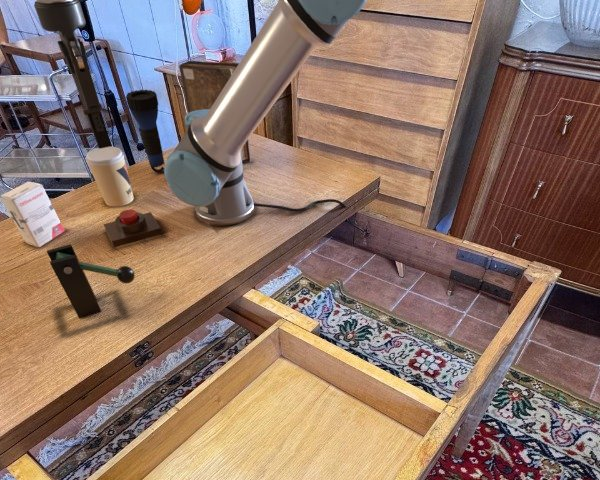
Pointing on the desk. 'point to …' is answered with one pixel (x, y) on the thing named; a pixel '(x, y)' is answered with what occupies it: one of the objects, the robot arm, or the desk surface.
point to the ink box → (32, 213)
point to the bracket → (74, 281)
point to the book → (207, 87)
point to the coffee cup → (111, 175)
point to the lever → (106, 270)
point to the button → (128, 216)
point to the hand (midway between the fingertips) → (105, 146)
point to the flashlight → (147, 124)
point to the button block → (132, 230)
